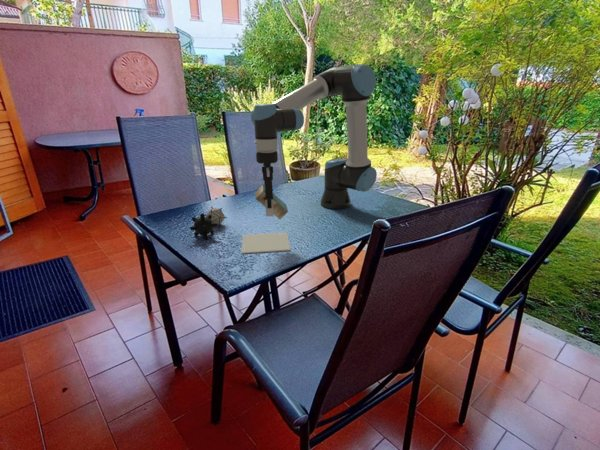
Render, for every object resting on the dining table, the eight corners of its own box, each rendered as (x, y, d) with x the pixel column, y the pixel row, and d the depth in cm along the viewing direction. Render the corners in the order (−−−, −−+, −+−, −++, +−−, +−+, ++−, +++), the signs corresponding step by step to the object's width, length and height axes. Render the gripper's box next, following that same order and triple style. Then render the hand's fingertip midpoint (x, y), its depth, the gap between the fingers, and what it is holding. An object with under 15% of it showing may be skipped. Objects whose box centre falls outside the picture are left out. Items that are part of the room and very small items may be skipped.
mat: (286, 233, 140) (286, 232, 140) (290, 250, 126) (290, 249, 125) (243, 236, 138) (242, 234, 138) (241, 253, 124) (241, 252, 123)
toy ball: (220, 222, 145) (224, 224, 134) (204, 242, 144) (207, 246, 132) (199, 206, 142) (201, 208, 130) (183, 227, 140) (184, 230, 129)
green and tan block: (286, 204, 131) (263, 184, 127) (288, 211, 124) (263, 190, 120) (278, 212, 132) (255, 192, 128) (280, 219, 125) (255, 198, 121)
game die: (221, 231, 152) (233, 214, 150) (211, 232, 144) (223, 213, 142) (208, 219, 154) (219, 201, 153) (196, 219, 146) (209, 200, 144)
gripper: (255, 146, 128) (258, 203, 136) (255, 156, 109) (259, 222, 117) (275, 145, 129) (277, 202, 137) (279, 155, 110) (281, 221, 118)
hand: (269, 211), depth 127 cm, fingers closed on green and tan block, 8 cm apart
